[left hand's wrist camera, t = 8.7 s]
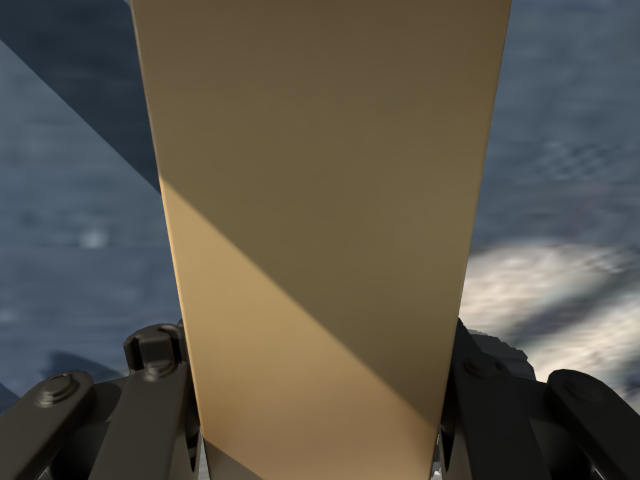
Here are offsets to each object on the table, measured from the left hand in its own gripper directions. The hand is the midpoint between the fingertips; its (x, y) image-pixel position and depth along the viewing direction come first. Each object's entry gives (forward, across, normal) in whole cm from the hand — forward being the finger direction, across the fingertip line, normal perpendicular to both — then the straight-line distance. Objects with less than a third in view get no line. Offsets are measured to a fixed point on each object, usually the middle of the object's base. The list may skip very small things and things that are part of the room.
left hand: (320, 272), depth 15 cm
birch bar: (0, 0, +8) cm, 8 cm away
